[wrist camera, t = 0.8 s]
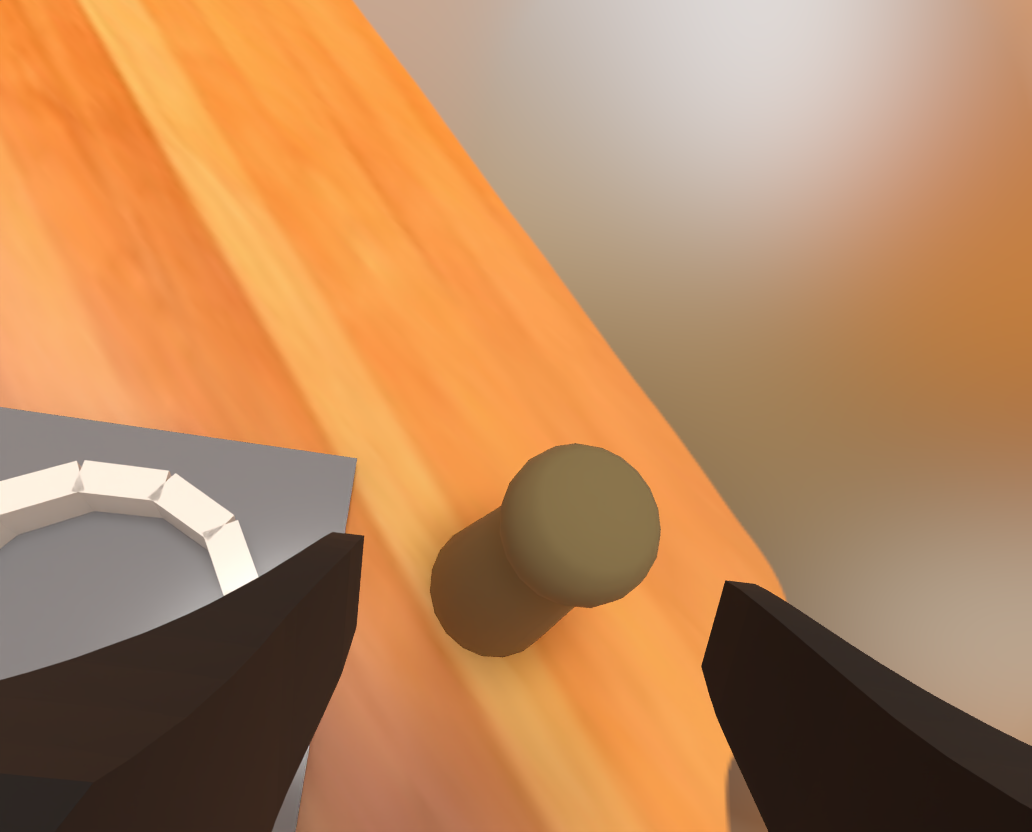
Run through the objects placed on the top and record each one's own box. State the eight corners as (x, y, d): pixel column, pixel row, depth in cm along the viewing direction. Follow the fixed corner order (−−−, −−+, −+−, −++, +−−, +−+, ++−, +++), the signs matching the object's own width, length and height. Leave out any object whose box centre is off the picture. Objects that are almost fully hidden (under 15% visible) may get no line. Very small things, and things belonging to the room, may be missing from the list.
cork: (547, 671, 25) (694, 633, 16) (414, 639, 23) (490, 578, 14) (562, 541, 28) (691, 447, 19) (447, 508, 27) (525, 391, 18)
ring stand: (281, 912, 18) (279, 937, 16) (-414, 965, 14) (-557, 1011, 11) (355, 465, 26) (361, 439, 24) (-67, 406, 22) (-110, 367, 19)
